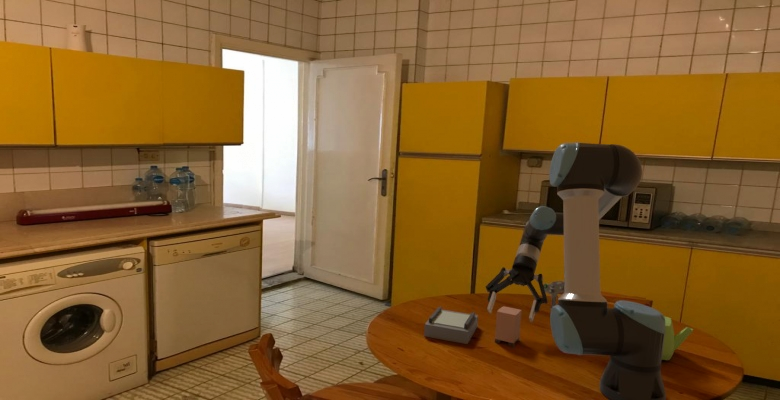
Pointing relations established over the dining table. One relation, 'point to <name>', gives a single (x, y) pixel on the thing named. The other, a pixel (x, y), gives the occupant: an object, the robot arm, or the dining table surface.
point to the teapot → (673, 339)
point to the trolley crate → (508, 325)
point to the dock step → (451, 326)
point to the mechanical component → (554, 290)
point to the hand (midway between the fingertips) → (509, 315)
